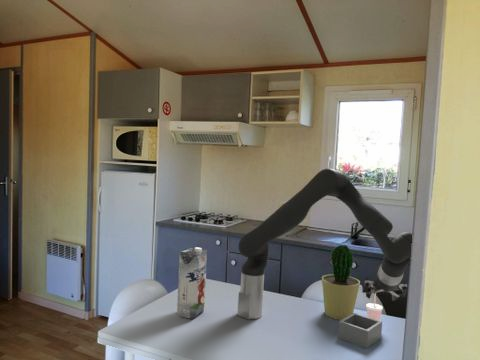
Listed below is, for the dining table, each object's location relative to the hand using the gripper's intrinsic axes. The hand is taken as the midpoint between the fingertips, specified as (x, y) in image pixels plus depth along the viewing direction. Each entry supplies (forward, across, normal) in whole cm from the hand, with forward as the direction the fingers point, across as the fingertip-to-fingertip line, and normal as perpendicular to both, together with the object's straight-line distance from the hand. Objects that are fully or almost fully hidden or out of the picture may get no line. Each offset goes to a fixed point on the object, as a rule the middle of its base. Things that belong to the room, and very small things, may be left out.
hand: (380, 297), depth 142 cm
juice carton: (+14, +71, +9) cm, 73 cm away
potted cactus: (+26, +12, -4) cm, 29 cm away
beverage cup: (+18, 0, +4) cm, 19 cm away
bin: (+11, +6, +11) cm, 17 cm away
